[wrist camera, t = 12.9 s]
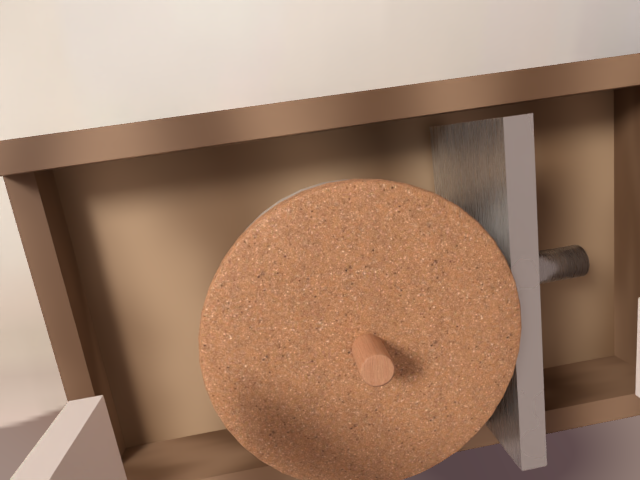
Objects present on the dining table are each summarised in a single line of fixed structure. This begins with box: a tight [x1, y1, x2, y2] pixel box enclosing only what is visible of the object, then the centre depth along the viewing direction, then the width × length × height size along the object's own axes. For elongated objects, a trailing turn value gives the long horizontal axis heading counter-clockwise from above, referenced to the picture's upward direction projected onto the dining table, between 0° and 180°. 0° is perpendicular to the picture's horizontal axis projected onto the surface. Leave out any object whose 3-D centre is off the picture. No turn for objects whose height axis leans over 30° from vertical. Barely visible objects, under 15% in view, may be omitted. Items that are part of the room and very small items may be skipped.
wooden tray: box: [0, 53, 640, 480], centre depth 19 cm, size 30×16×8 cm, turn 98°
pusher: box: [430, 113, 590, 471], centre depth 19 cm, size 5×13×7 cm, turn 8°
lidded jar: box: [198, 179, 522, 480], centre depth 18 cm, size 11×11×9 cm
